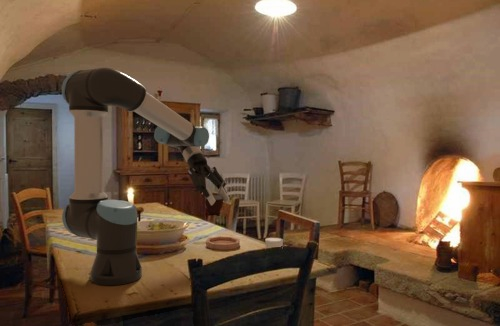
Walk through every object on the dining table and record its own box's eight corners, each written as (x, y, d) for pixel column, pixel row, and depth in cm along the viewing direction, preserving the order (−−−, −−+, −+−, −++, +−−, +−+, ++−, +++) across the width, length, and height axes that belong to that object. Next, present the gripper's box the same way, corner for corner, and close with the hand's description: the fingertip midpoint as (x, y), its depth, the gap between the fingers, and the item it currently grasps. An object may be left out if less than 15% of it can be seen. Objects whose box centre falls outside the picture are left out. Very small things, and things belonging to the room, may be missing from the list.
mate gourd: (201, 214, 152) (202, 176, 151) (216, 212, 158) (216, 175, 157) (214, 217, 147) (214, 178, 146) (228, 214, 153) (229, 177, 152)
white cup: (281, 260, 141) (282, 242, 141) (263, 259, 143) (263, 240, 143) (283, 255, 148) (284, 237, 148) (266, 254, 150) (266, 236, 149)
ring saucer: (219, 252, 151) (219, 246, 151) (199, 244, 161) (199, 239, 161) (246, 246, 160) (246, 241, 160) (225, 239, 171) (225, 235, 171)
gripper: (208, 163, 169) (234, 205, 158) (171, 165, 154) (196, 210, 144) (217, 152, 165) (243, 194, 154) (179, 152, 150) (205, 198, 140)
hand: (220, 202), depth 149 cm, fingers closed on mate gourd, 7 cm apart
